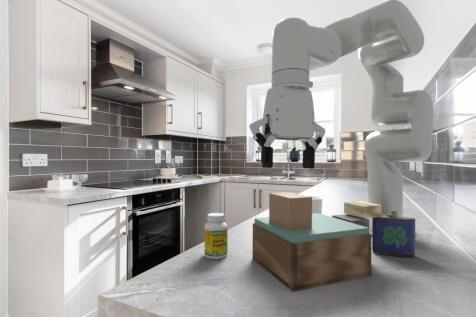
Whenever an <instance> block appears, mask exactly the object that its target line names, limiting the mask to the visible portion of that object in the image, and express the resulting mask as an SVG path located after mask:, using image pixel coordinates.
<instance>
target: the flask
mask: <svg viewBox="0 0 476 317" xmlns="http://www.w3.org/2000/svg"><path fill="white" fill-rule="evenodd" d="M397 212H398V211H397V210H392V212H391V213H390V214H381V217H373V218H372V235H371V253H373V254H377V255H382V256H389V257H392V256H393V257H395V256H396V257H402V258H403V257H406V258H415V257H416V218H414V217H410V216H403V217H397V216H398V214H397ZM384 215H387V216H384Z"/></svg>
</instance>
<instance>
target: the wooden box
mask: <svg viewBox="0 0 476 317" xmlns="http://www.w3.org/2000/svg"><path fill="white" fill-rule="evenodd" d="M331 217H333V218H337V219H340V220H344V221H347V222H351V223H354V224H358V225H361V226H364V227H368V228H369V219H367V218H361V217H357V216H353V215H349V214H345V213H344V214H334V215H331ZM254 223H255V222H254ZM254 223H252V258H251V260H253V261H255V262H256V263H257V264H258V265H259V266H260V267H261V268H263V269H264V270H265V271H266V272H268V274H270V275H271V276H273V277H274V279H276V280H277V281H278V282H280V283H281V284H282V285H283V286H285V287H286V288H287V289H288V290H290V291H291V292H297V291H302V290H307V289H312V288H316V287H321V286H326V285H331V284H335V283H340V282H341V283H342V282H346V281H351V280H356V279H361V278H366V277H370V276H372V235H371V234H365V235H357V236H349V237H342V238H334V239H326V240H318V241H310V242H303V243H295V244H293V243H291V242H289V241H287V240H285V239H283V238H281V237H279V236H277V235H275V234H274V233H272V232H270V231H268V230H266V229H264V228H262V227H260V226H258V225H256V224H254Z"/></svg>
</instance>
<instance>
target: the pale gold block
mask: <svg viewBox="0 0 476 317" xmlns="http://www.w3.org/2000/svg"><path fill="white" fill-rule="evenodd" d="M343 213H344V214H349V215H353V216H357V217H361V218H366V219H367V218H373V217H381V205H378V204H373V203H368V201H361V200H359V201H358V200H357V201H345V202H343Z"/></svg>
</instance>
